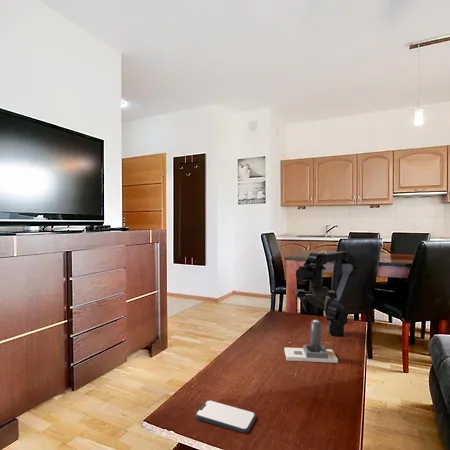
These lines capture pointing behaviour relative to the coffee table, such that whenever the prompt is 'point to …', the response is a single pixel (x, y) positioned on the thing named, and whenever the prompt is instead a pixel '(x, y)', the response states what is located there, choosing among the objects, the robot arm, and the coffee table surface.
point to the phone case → (226, 416)
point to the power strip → (310, 355)
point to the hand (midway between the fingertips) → (315, 311)
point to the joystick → (315, 336)
